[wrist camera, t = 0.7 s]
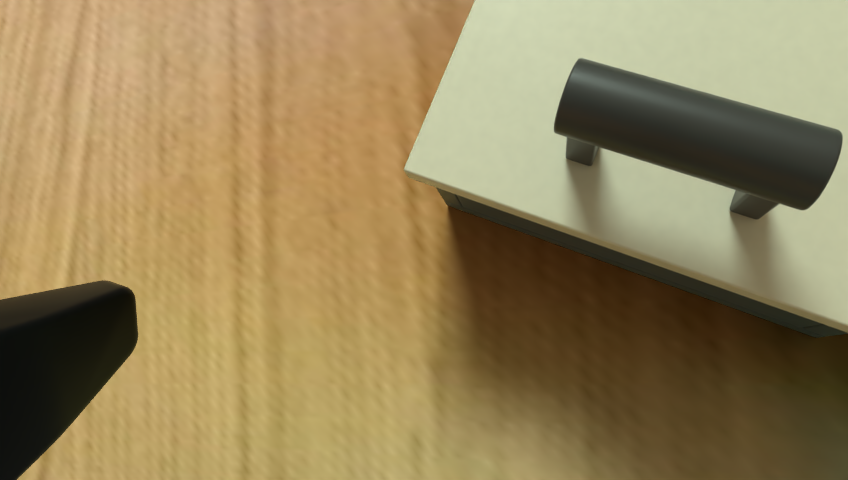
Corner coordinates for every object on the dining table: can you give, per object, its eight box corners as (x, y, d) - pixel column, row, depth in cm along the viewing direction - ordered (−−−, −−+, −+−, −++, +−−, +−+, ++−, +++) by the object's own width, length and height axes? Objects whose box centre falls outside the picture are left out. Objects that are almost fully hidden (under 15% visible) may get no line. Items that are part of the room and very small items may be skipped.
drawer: (817, 338, 20) (908, 327, 15) (446, 205, 23) (416, 158, 18) (925, 11, 21) (1043, -103, 16) (560, -73, 24) (562, -190, 19)
